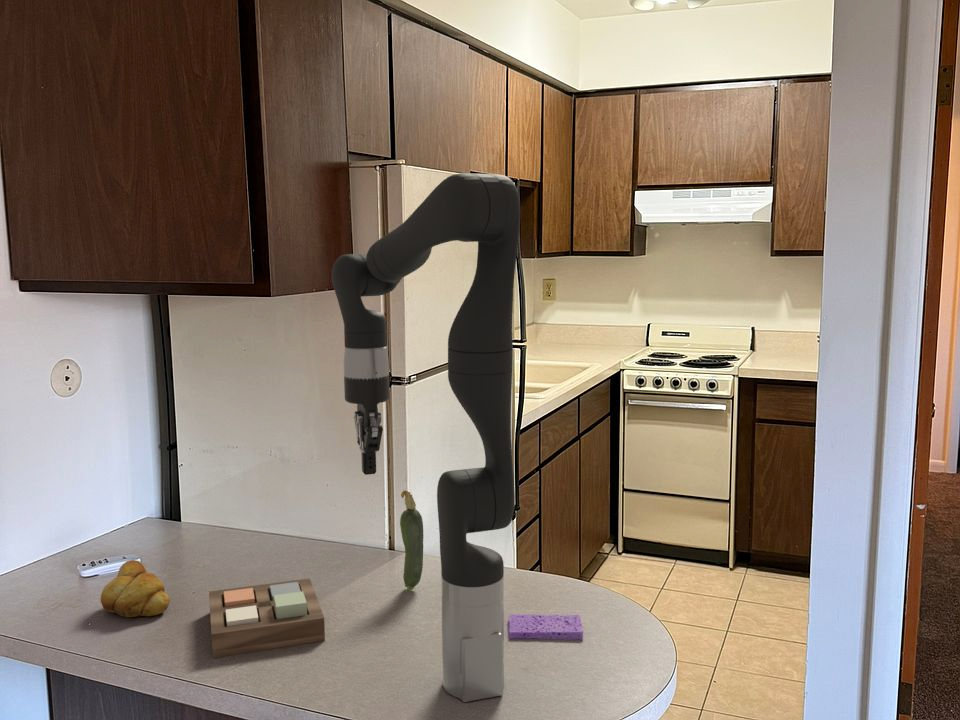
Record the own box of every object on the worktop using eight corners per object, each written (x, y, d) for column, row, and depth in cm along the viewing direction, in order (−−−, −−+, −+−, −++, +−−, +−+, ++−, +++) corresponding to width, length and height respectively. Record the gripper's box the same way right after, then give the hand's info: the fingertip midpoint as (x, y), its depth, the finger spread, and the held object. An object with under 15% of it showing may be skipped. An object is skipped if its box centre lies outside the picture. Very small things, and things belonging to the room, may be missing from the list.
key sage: (307, 619, 144) (306, 602, 144) (277, 623, 143) (276, 606, 142) (303, 607, 149) (302, 591, 148) (274, 611, 147) (273, 595, 147)
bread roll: (182, 609, 156) (180, 567, 155) (136, 629, 148) (133, 585, 147) (137, 594, 163) (134, 554, 162) (91, 613, 154) (87, 571, 153)
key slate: (301, 608, 152) (301, 592, 151) (273, 612, 150) (272, 596, 150) (298, 597, 156) (297, 581, 156) (270, 601, 155) (269, 585, 154)
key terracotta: (255, 614, 149) (254, 598, 149) (225, 619, 148) (224, 602, 147) (253, 603, 154) (252, 587, 154) (224, 607, 152) (223, 591, 152)
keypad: (324, 640, 143) (324, 617, 142) (212, 657, 137) (211, 634, 137) (310, 598, 160) (309, 578, 159) (210, 612, 154) (208, 591, 154)
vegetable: (426, 586, 165) (424, 486, 162) (422, 596, 161) (420, 493, 158) (403, 585, 165) (401, 486, 163) (399, 595, 161) (397, 492, 158)
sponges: (583, 642, 143) (583, 631, 142) (508, 641, 143) (508, 630, 143) (580, 624, 150) (580, 613, 149) (508, 623, 150) (508, 613, 150)
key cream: (258, 634, 142) (258, 617, 141) (227, 639, 140) (226, 621, 140) (256, 621, 146) (256, 605, 146) (226, 626, 145) (225, 609, 144)
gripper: (397, 377, 138) (399, 481, 141) (380, 366, 151) (382, 462, 153) (351, 380, 136) (354, 485, 138) (337, 369, 149) (340, 465, 151)
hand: (369, 473), depth 146 cm, fingers closed
